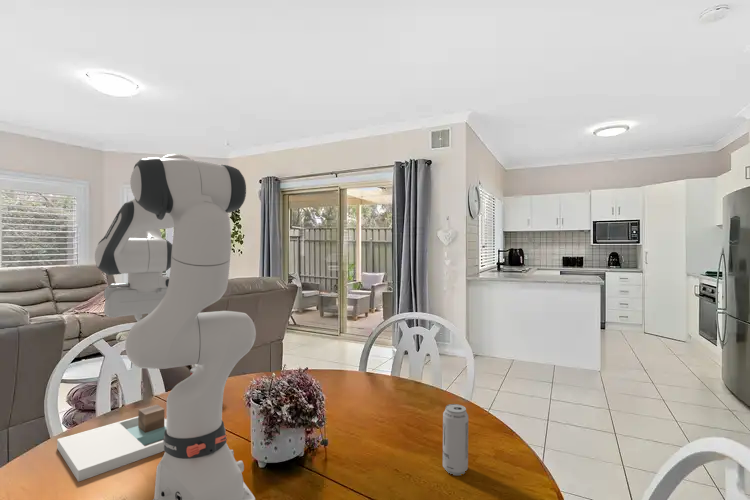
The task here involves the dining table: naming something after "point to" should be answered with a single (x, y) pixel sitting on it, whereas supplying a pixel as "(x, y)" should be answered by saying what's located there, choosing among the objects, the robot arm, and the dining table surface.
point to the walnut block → (151, 418)
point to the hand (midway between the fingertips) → (145, 328)
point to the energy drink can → (455, 439)
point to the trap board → (109, 447)
